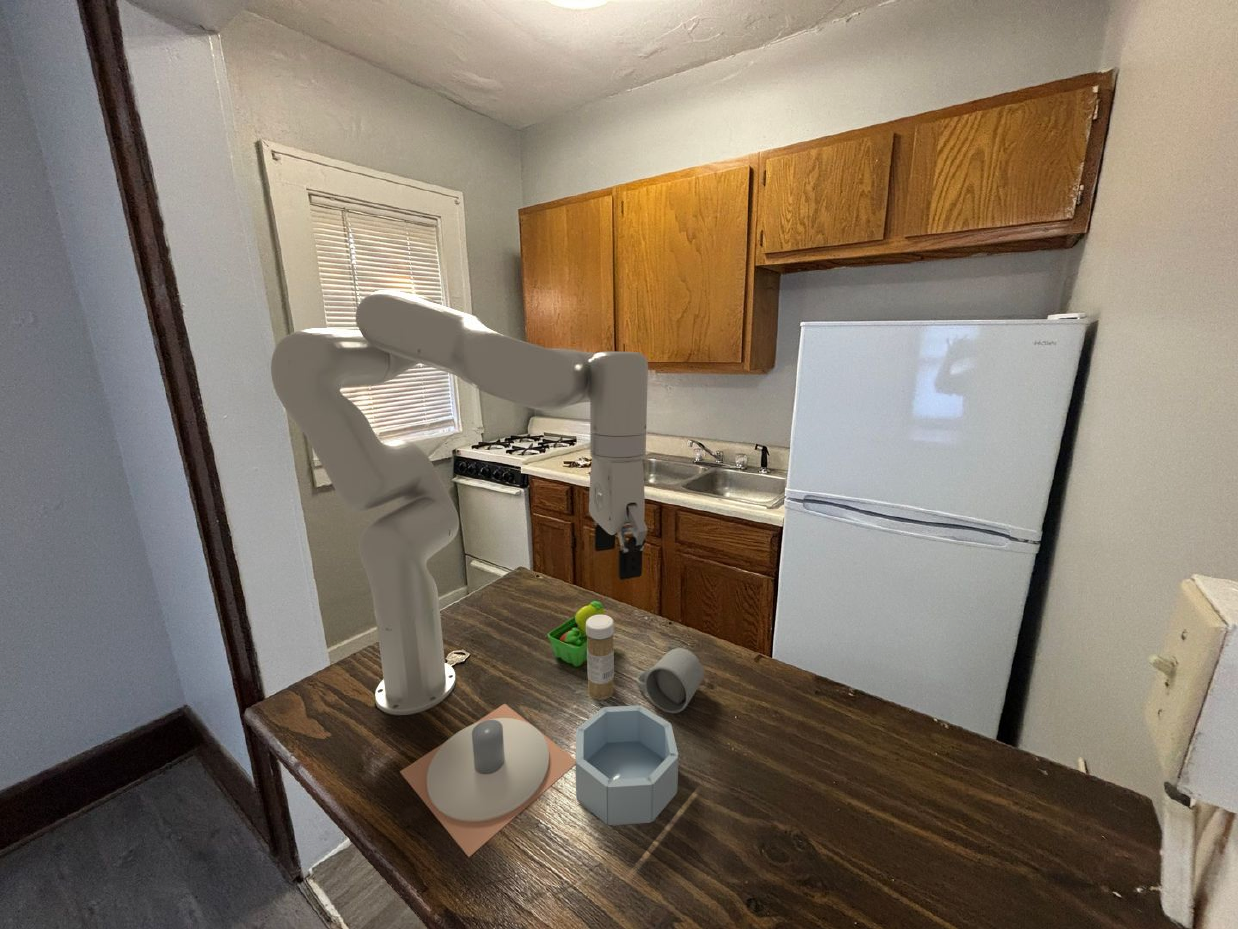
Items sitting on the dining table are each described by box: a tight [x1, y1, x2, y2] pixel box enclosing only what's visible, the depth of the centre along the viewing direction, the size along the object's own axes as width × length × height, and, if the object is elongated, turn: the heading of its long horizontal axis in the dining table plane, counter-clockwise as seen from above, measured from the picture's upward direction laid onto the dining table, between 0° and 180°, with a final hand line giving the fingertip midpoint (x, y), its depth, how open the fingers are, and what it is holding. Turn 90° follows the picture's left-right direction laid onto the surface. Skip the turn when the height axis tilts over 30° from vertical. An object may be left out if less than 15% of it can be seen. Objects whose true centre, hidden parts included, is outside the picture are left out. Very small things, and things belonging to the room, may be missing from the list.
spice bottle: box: [586, 614, 615, 701], centre depth 78 cm, size 5×5×14 cm
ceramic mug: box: [636, 647, 704, 714], centre depth 79 cm, size 11×8×8 cm
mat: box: [399, 703, 575, 858], centre depth 65 cm, size 17×17×1 cm
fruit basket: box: [547, 600, 605, 667], centre depth 89 cm, size 11×9×11 cm
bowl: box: [574, 704, 679, 826], centre depth 63 cm, size 13×13×6 cm
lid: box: [427, 718, 549, 823], centre depth 64 cm, size 16×16×6 cm
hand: (616, 562), depth 68 cm, fingers open, 9 cm apart
